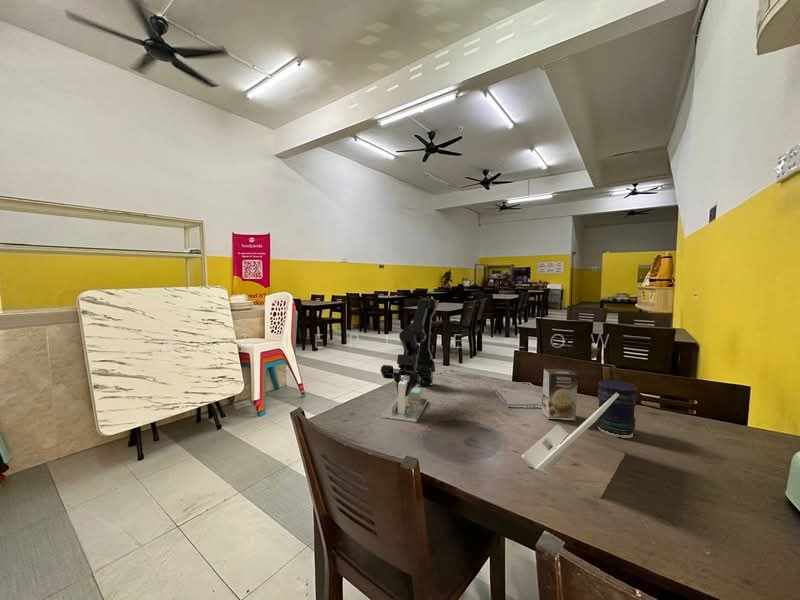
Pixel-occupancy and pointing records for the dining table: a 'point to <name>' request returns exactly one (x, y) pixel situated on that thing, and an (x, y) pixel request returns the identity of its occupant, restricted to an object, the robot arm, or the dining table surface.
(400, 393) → the cream rectangular block
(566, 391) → the cookie box
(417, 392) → the offcut top
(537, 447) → the tablet stand
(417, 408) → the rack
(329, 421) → the dining table surface
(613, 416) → the storage jar
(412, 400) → the block
